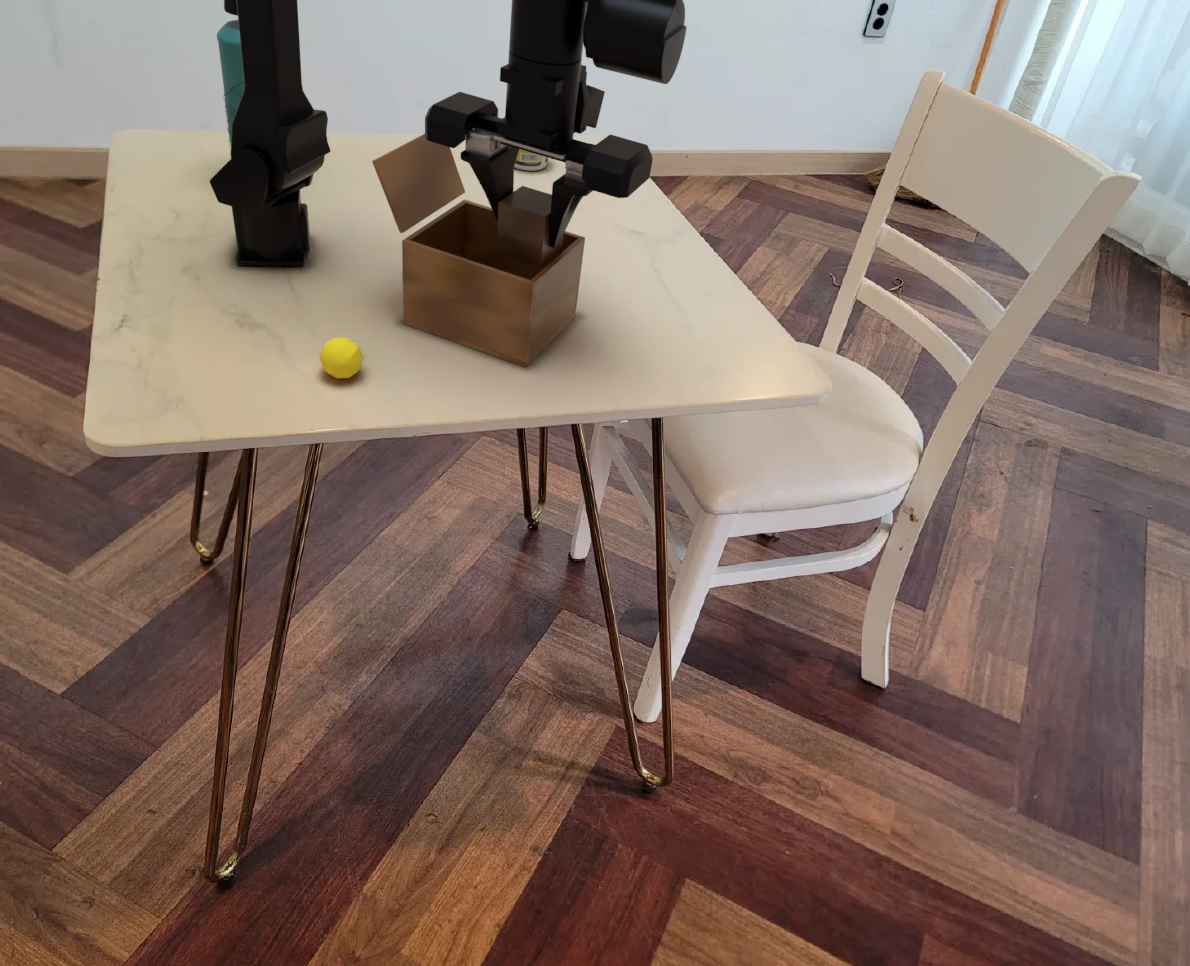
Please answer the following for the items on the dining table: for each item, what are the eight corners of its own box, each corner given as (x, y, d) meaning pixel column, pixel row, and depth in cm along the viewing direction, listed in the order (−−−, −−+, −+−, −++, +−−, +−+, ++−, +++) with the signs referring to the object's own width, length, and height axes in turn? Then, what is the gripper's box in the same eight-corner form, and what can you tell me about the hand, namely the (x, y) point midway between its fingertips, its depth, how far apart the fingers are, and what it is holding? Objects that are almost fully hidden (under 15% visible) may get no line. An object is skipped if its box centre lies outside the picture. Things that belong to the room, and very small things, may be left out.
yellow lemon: (330, 389, 76) (313, 351, 74) (329, 368, 81) (314, 331, 79) (369, 376, 76) (353, 338, 74) (366, 355, 81) (351, 319, 80)
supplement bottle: (524, 152, 121) (530, 75, 114) (555, 165, 119) (563, 88, 112) (497, 161, 117) (501, 83, 111) (528, 175, 115) (534, 96, 109)
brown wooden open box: (403, 323, 85) (401, 240, 80) (461, 277, 93) (464, 199, 88) (525, 367, 82) (533, 283, 77) (575, 316, 90) (585, 237, 85)
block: (495, 250, 80) (498, 202, 77) (518, 232, 84) (522, 185, 81) (540, 265, 79) (545, 216, 76) (562, 246, 82) (567, 199, 80)
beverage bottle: (221, 177, 104) (193, -16, 91) (266, 162, 108) (245, -23, 95) (262, 195, 101) (239, 0, 89) (306, 179, 106) (290, -8, 93)
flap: (403, 232, 79) (399, 233, 79) (465, 192, 87) (462, 193, 87) (375, 160, 76) (371, 161, 76) (442, 125, 84) (438, 125, 84)
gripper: (689, 59, 74) (657, 235, 84) (490, 8, 79) (482, 181, 89) (641, 92, 66) (611, 282, 76) (421, 33, 70) (421, 221, 81)
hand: (530, 238), depth 81 cm, fingers closed on block, 4 cm apart
